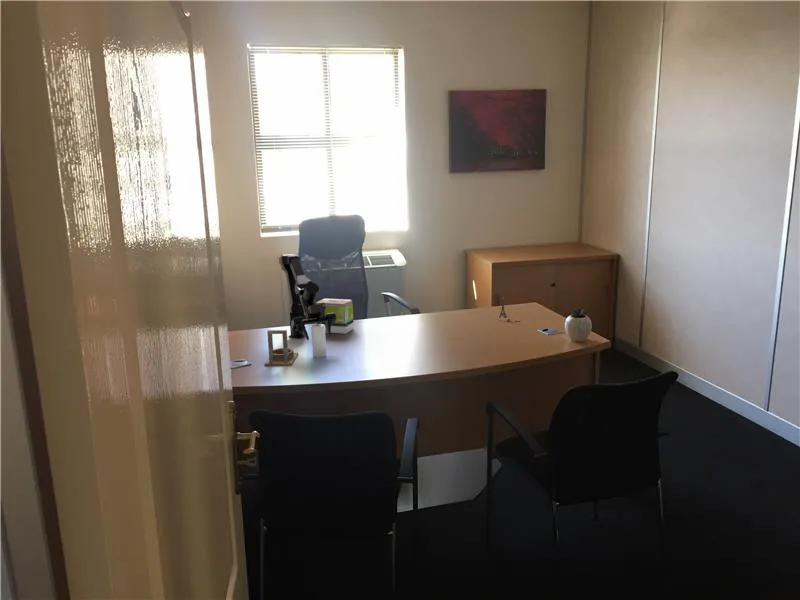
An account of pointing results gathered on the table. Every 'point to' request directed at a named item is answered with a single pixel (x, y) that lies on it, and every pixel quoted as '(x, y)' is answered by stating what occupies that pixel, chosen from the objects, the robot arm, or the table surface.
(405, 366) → the table surface
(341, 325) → the tea box
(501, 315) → the eiffel tower figurine
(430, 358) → the table surface
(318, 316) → the robot arm
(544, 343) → the table surface
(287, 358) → the stand
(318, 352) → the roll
